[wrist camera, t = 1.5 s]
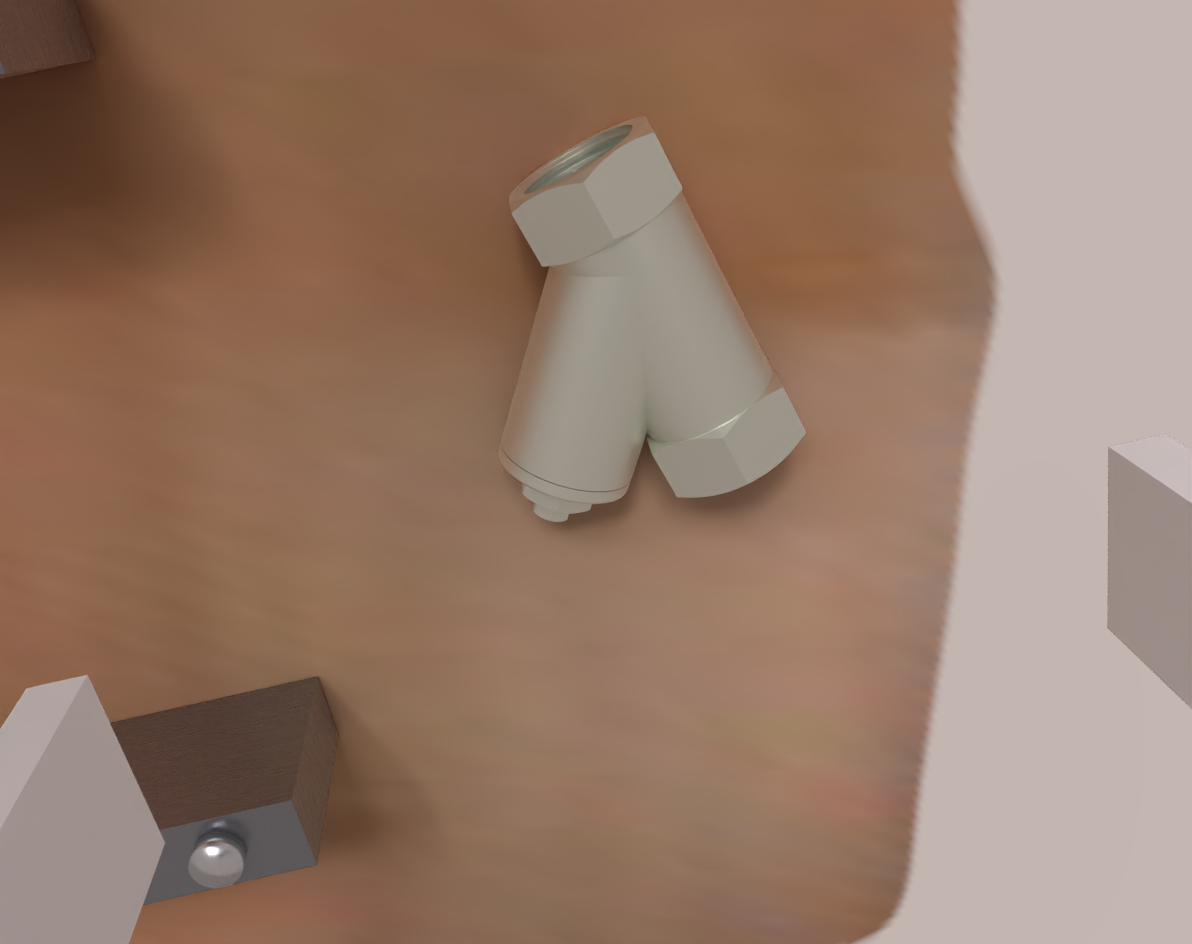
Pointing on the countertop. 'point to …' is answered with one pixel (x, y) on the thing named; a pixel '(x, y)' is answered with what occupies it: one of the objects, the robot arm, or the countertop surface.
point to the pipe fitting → (633, 339)
